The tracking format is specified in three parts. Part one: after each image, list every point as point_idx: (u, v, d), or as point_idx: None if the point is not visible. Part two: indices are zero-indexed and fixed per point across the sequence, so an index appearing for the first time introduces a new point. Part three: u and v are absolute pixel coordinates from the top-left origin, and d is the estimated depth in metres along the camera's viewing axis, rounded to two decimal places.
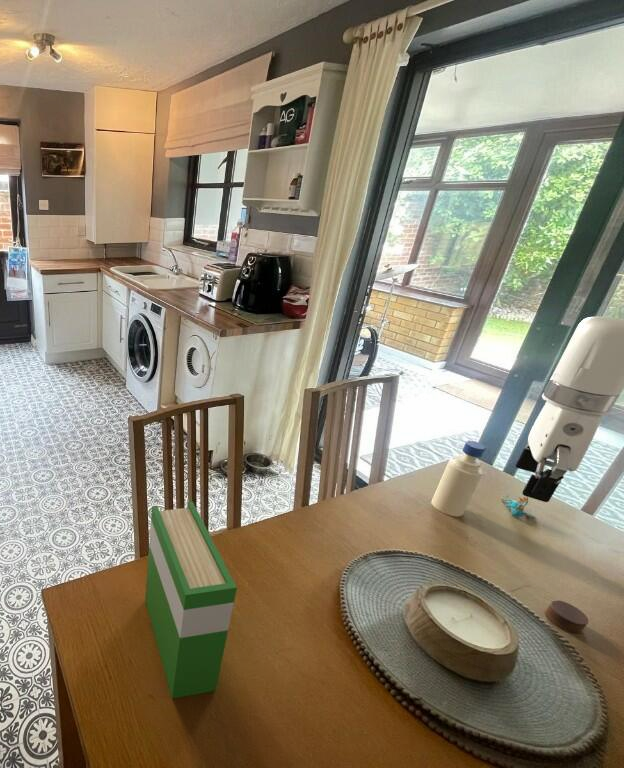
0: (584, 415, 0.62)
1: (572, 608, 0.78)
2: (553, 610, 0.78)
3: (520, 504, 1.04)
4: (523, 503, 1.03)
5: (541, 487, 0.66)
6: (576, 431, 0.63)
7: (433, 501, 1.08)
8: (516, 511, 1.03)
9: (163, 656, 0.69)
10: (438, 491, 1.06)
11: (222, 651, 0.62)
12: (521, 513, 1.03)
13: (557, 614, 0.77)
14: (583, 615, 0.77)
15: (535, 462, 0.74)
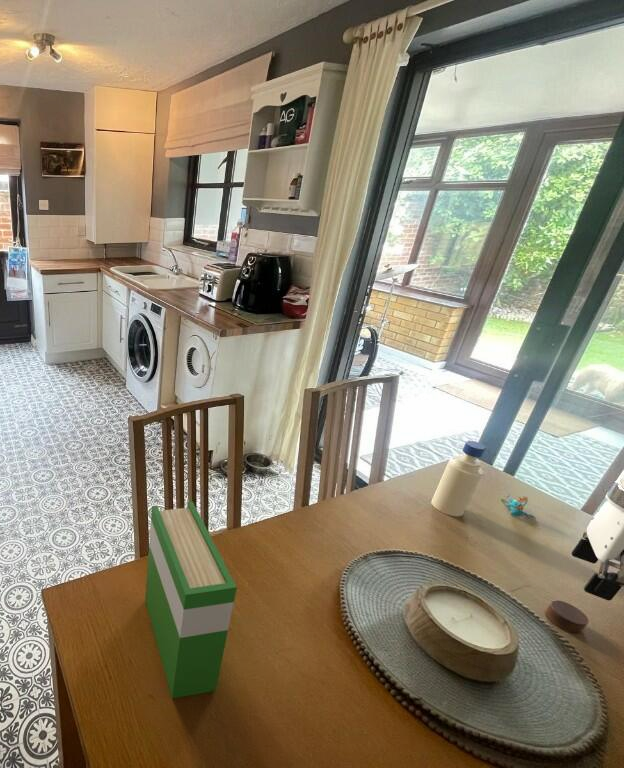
0: None
1: (572, 608, 0.78)
2: (553, 610, 0.78)
3: (520, 503, 1.04)
4: (522, 502, 1.04)
5: (605, 586, 0.68)
6: None
7: (433, 501, 1.08)
8: (515, 510, 1.04)
9: (163, 656, 0.69)
10: (438, 491, 1.06)
11: (222, 651, 0.62)
12: (520, 512, 1.03)
13: (557, 614, 0.77)
14: (583, 615, 0.77)
15: (592, 553, 0.76)
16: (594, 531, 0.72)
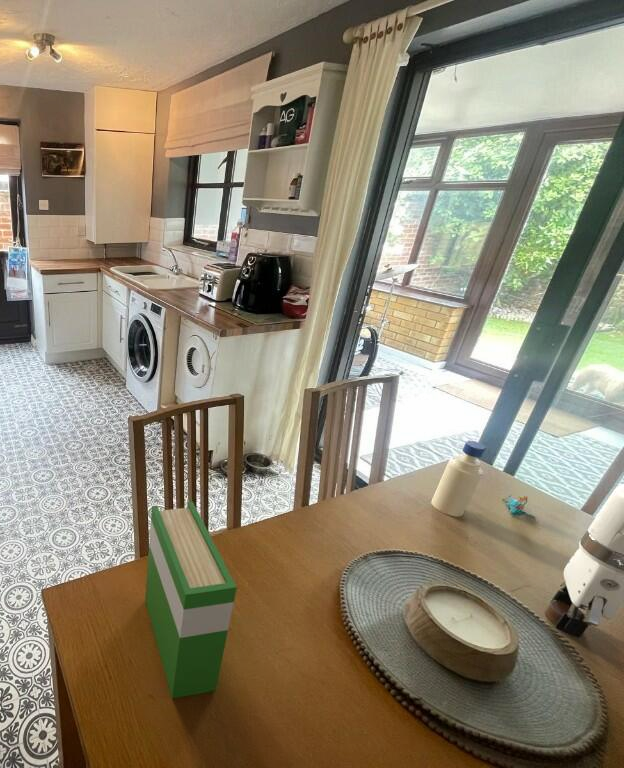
0: (620, 574, 0.68)
1: None
2: (553, 610, 0.78)
3: (520, 503, 1.04)
4: (522, 502, 1.04)
5: (573, 625, 0.74)
6: (612, 585, 0.69)
7: (433, 501, 1.08)
8: (514, 510, 1.04)
9: (163, 656, 0.69)
10: (438, 491, 1.06)
11: (222, 651, 0.62)
12: (520, 512, 1.03)
13: (557, 614, 0.77)
14: None
15: None
16: (569, 575, 0.76)
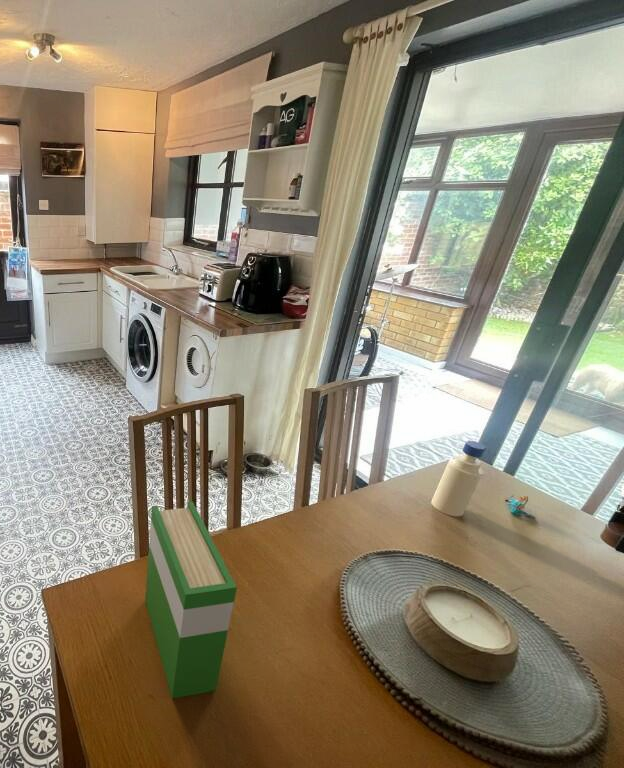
0: None
1: None
2: (610, 532, 0.69)
3: (520, 503, 1.05)
4: (523, 502, 1.04)
5: None
6: None
7: (433, 501, 1.08)
8: (514, 509, 1.04)
9: (163, 656, 0.69)
10: (438, 491, 1.06)
11: (222, 651, 0.62)
12: (519, 511, 1.03)
13: (616, 535, 0.69)
14: None
15: None
16: None
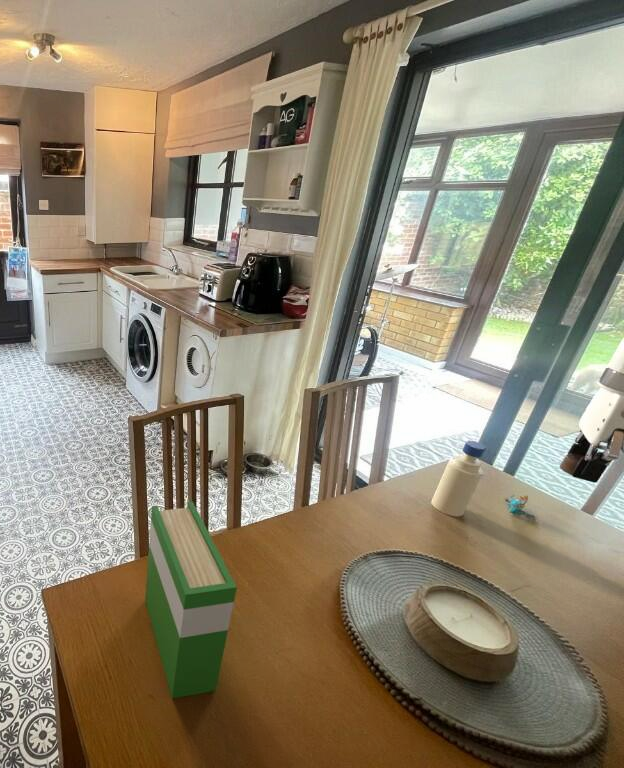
0: None
1: None
2: (568, 460, 0.76)
3: (520, 502, 1.05)
4: (523, 501, 1.04)
5: (591, 468, 0.72)
6: None
7: (433, 501, 1.08)
8: (513, 509, 1.04)
9: (163, 656, 0.69)
10: (438, 491, 1.06)
11: (222, 651, 0.62)
12: (519, 511, 1.04)
13: (573, 463, 0.75)
14: None
15: None
16: (586, 420, 0.74)
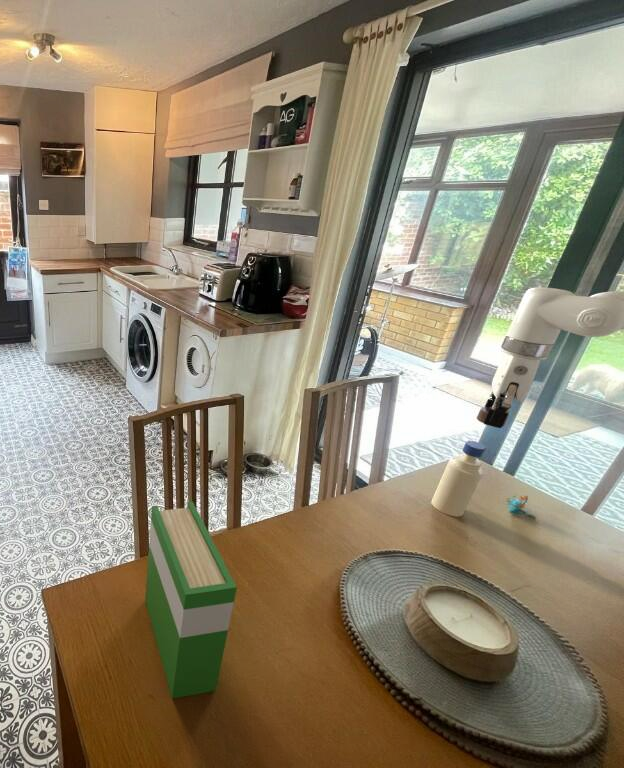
0: (528, 359, 0.85)
1: None
2: (481, 411, 0.95)
3: (520, 502, 1.05)
4: (522, 501, 1.04)
5: (496, 416, 0.91)
6: (523, 372, 0.86)
7: (433, 501, 1.08)
8: (513, 508, 1.04)
9: (163, 656, 0.69)
10: (438, 491, 1.06)
11: (222, 651, 0.62)
12: (518, 510, 1.04)
13: (485, 413, 0.94)
14: None
15: None
16: (494, 379, 0.93)
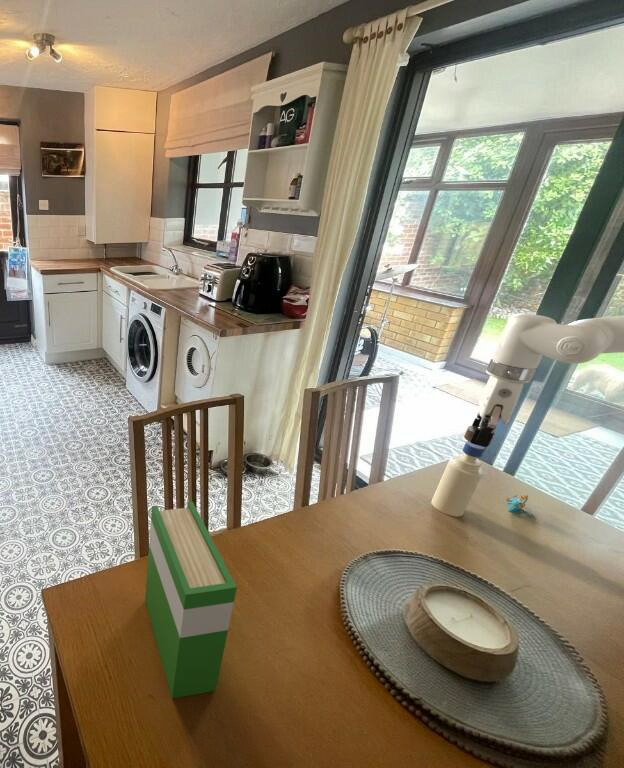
0: (512, 383, 0.88)
1: None
2: (469, 431, 0.98)
3: (520, 502, 1.05)
4: (522, 501, 1.04)
5: (482, 436, 0.95)
6: (507, 394, 0.89)
7: (433, 501, 1.08)
8: (513, 507, 1.05)
9: (163, 656, 0.69)
10: (438, 491, 1.06)
11: (222, 651, 0.62)
12: (518, 510, 1.04)
13: (471, 432, 0.97)
14: None
15: None
16: (481, 399, 0.96)
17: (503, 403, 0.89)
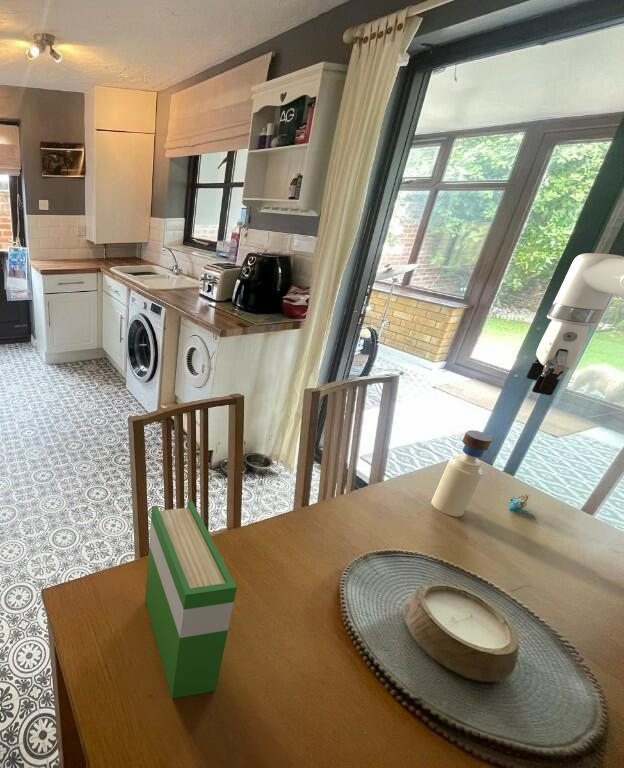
0: (578, 325, 0.85)
1: (482, 433, 0.99)
2: (467, 435, 0.98)
3: (521, 501, 1.05)
4: (523, 500, 1.05)
5: (546, 383, 0.89)
6: (572, 338, 0.86)
7: (433, 501, 1.08)
8: (512, 506, 1.05)
9: (163, 656, 0.69)
10: (438, 491, 1.06)
11: (222, 651, 0.62)
12: (517, 508, 1.04)
13: (469, 437, 0.98)
14: (489, 437, 0.97)
15: (541, 372, 0.97)
16: (540, 348, 0.93)
17: (568, 347, 0.86)
